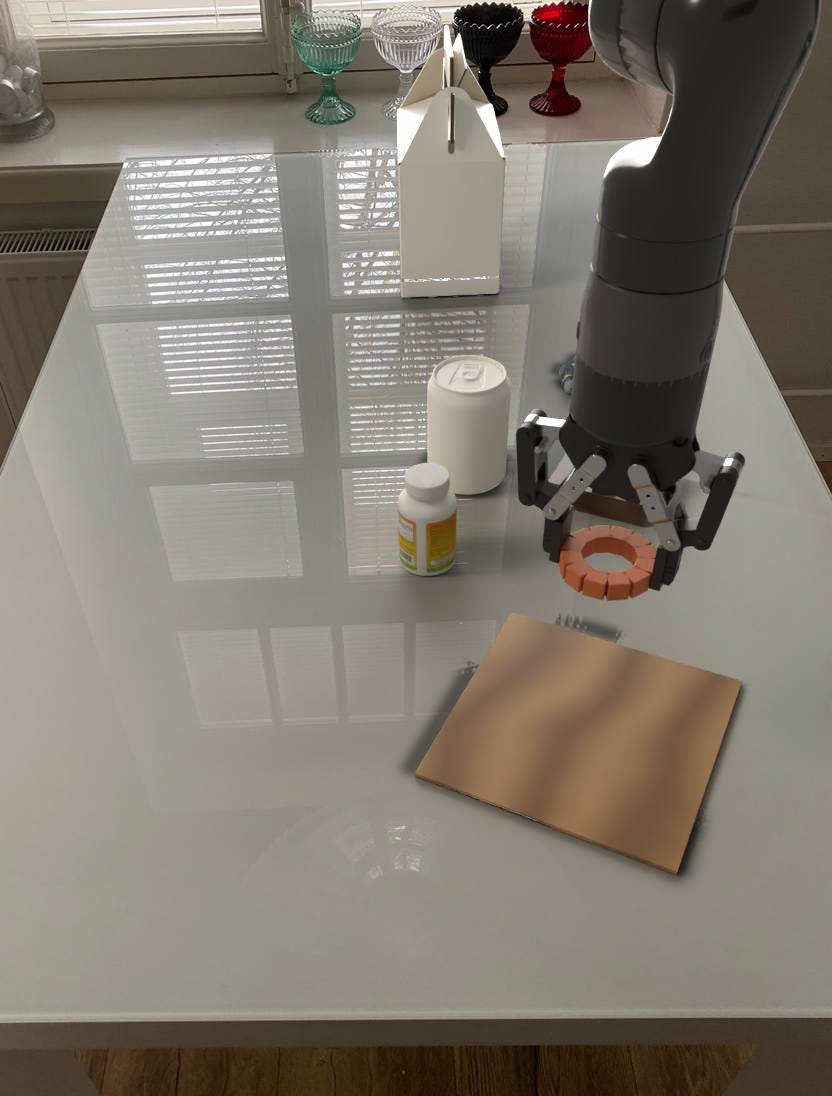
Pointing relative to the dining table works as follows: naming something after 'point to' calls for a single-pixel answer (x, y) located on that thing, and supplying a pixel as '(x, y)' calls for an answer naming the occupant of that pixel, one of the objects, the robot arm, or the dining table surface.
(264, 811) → the dining table surface
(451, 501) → the supplement bottle
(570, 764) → the wooden board
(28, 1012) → the dining table surface
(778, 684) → the dining table surface
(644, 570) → the ring
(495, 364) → the beverage can
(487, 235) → the gable box
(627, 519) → the peg stand
